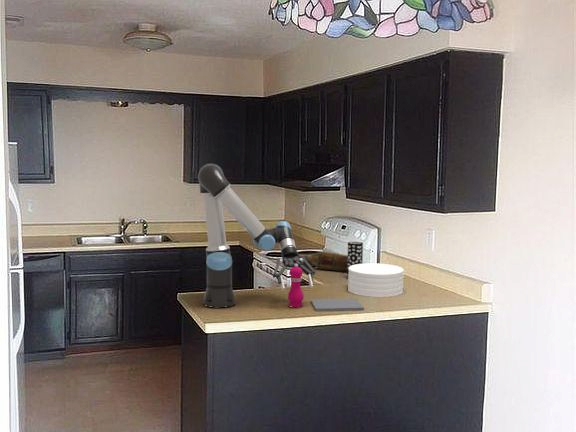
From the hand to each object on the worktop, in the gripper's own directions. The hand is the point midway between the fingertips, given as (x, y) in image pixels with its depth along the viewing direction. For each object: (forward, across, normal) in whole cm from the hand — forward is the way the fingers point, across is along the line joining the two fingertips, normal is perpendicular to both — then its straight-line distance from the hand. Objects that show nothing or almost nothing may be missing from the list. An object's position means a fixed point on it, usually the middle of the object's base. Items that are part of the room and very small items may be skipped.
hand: (297, 288), depth 278 cm
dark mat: (+8, -18, -5) cm, 20 cm away
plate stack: (-9, -49, -22) cm, 54 cm away
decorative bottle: (-50, -38, -63) cm, 89 cm away
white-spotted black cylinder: (-29, -49, -42) cm, 71 cm away
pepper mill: (+5, 0, -8) cm, 9 cm away
